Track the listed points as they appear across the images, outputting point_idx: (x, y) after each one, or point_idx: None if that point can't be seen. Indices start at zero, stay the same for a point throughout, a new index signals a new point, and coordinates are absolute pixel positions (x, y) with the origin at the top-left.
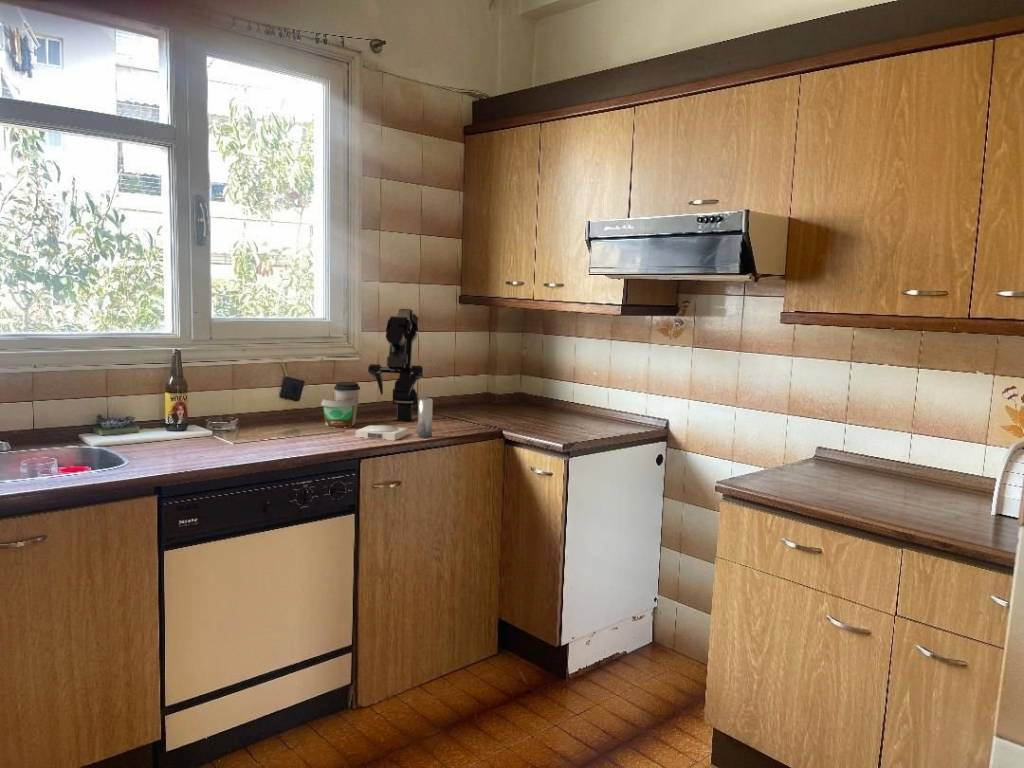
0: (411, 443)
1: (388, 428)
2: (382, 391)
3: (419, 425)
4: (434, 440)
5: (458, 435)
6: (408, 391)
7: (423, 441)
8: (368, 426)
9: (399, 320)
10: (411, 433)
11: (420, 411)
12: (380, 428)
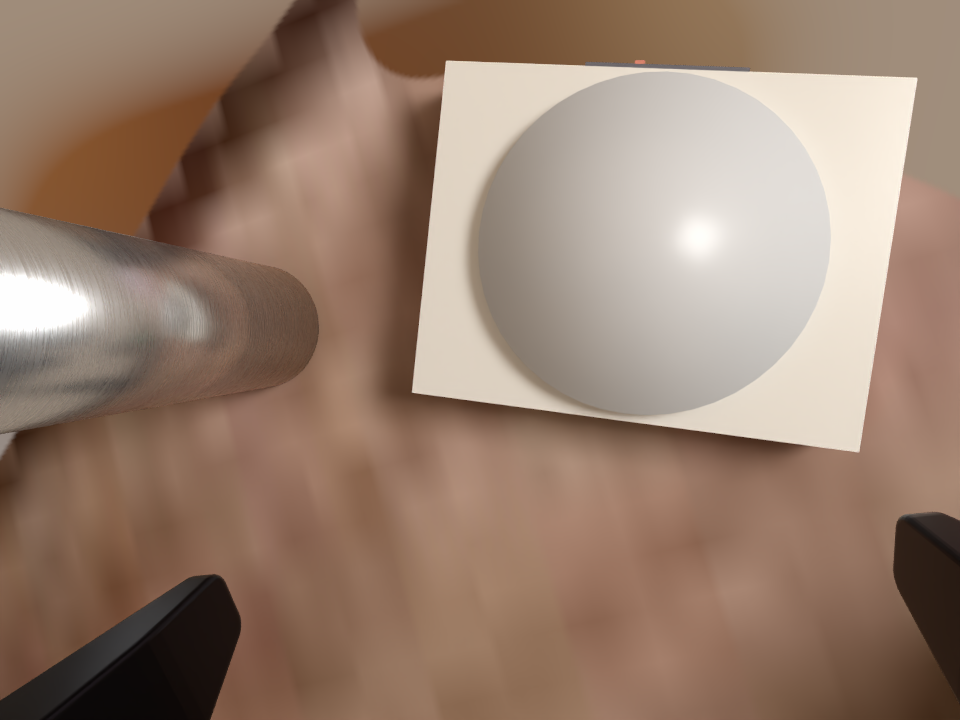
0: (290, 20)
1: (568, 244)
2: (951, 641)
3: (230, 265)
4: (156, 209)
5: (42, 469)
6: (141, 621)
7: (224, 138)
8: (852, 377)
9: None
10: (410, 455)
11: (93, 229)
12: (653, 214)
